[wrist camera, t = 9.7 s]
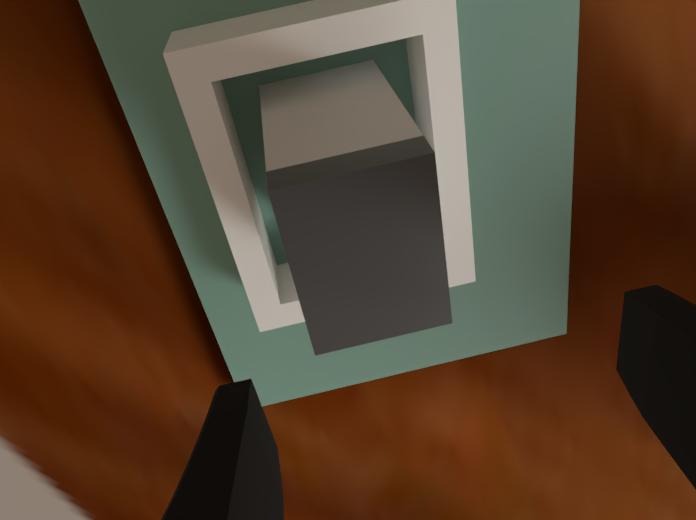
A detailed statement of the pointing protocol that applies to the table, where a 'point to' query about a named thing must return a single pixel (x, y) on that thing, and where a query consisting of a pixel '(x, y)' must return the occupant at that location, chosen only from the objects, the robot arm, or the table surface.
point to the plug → (355, 206)
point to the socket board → (428, 114)
